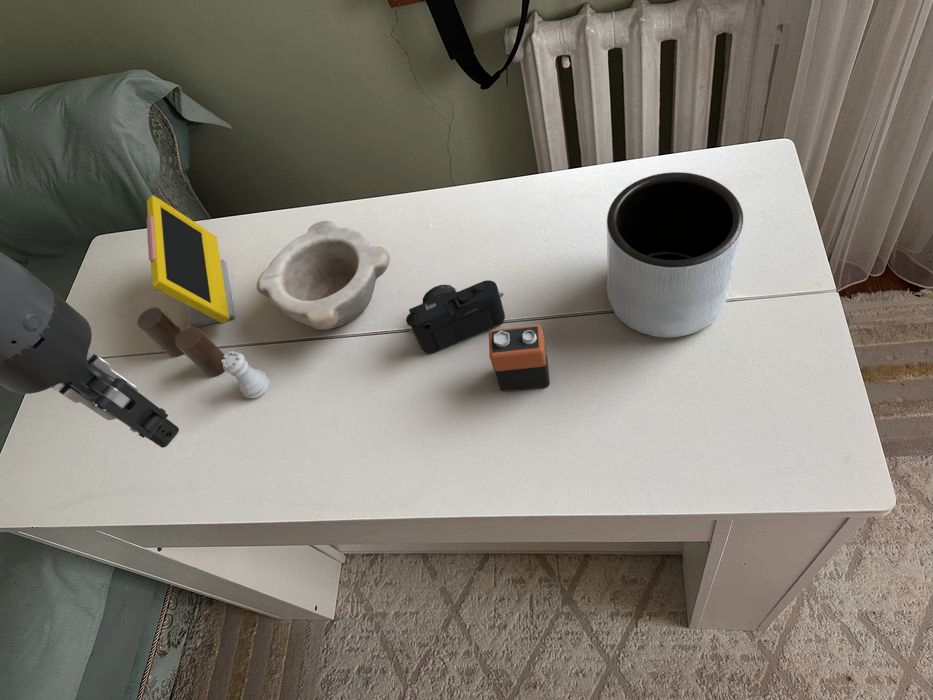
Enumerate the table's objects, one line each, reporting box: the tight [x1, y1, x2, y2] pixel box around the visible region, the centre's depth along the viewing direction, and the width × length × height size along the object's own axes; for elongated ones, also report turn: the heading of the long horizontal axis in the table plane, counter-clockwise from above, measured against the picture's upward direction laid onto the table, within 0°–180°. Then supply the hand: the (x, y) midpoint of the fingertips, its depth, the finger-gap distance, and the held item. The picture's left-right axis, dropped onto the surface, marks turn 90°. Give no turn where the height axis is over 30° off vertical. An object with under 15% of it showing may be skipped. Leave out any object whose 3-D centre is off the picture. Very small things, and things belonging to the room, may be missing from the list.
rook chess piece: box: [222, 350, 270, 399], centre depth 91 cm, size 4×4×8 cm
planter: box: [606, 171, 744, 338], centre depth 82 cm, size 16×16×16 cm
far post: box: [136, 307, 185, 358], centre depth 99 cm, size 4×4×8 cm
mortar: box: [256, 220, 391, 330], centre depth 96 cm, size 17×17×9 cm
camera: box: [405, 279, 506, 355], centre depth 90 cm, size 14×7×8 cm, turn 110°
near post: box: [175, 325, 226, 378], centre depth 95 cm, size 4×4×8 cm
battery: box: [488, 324, 551, 392], centre depth 82 cm, size 4×7×10 cm, turn 90°
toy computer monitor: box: [146, 195, 236, 328], centre depth 100 cm, size 20×8×16 cm, turn 20°
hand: (141, 419), depth 59 cm, fingers open, 8 cm apart
